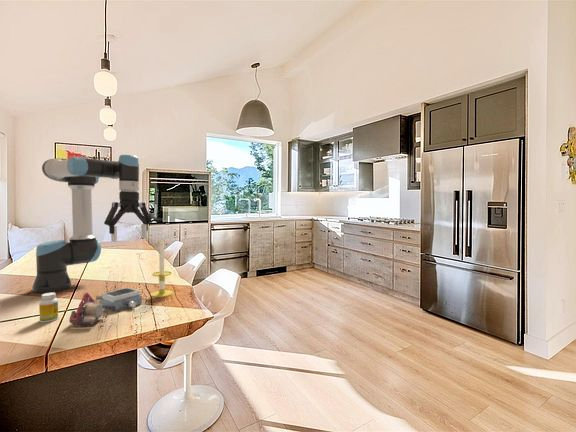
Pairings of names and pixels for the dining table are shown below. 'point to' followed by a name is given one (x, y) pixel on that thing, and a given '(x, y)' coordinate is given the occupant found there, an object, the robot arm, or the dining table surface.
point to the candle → (161, 275)
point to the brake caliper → (87, 312)
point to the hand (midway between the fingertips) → (129, 240)
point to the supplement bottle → (48, 307)
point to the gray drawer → (121, 299)
